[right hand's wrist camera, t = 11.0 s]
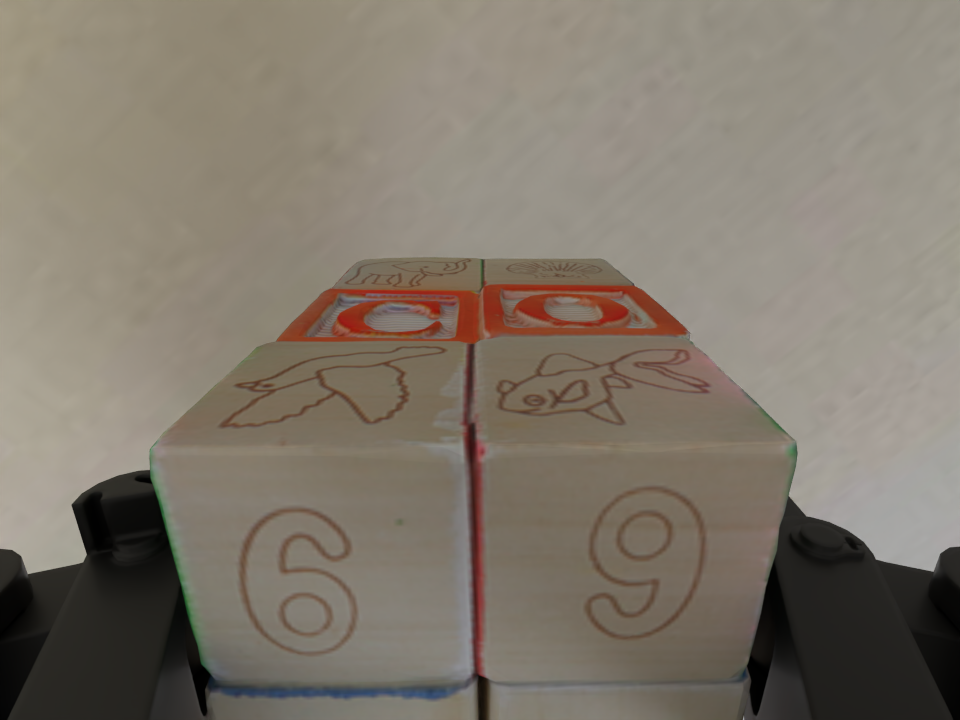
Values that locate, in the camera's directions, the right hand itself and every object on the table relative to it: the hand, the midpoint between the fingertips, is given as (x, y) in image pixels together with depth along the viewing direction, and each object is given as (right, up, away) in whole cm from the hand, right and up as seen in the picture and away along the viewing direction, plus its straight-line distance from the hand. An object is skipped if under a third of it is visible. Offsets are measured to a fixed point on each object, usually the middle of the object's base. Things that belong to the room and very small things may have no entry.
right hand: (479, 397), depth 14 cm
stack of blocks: (0, -6, +3) cm, 7 cm away
